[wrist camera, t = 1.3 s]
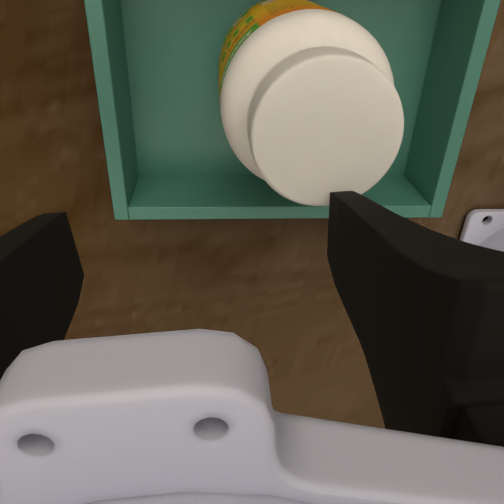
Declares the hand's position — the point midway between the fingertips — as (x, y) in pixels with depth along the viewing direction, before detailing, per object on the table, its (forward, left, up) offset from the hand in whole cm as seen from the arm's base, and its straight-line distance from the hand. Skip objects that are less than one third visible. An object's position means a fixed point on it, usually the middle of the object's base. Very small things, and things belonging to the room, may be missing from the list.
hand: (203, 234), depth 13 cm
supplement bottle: (-3, -3, -10) cm, 11 cm away
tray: (-3, -3, -10) cm, 11 cm away
